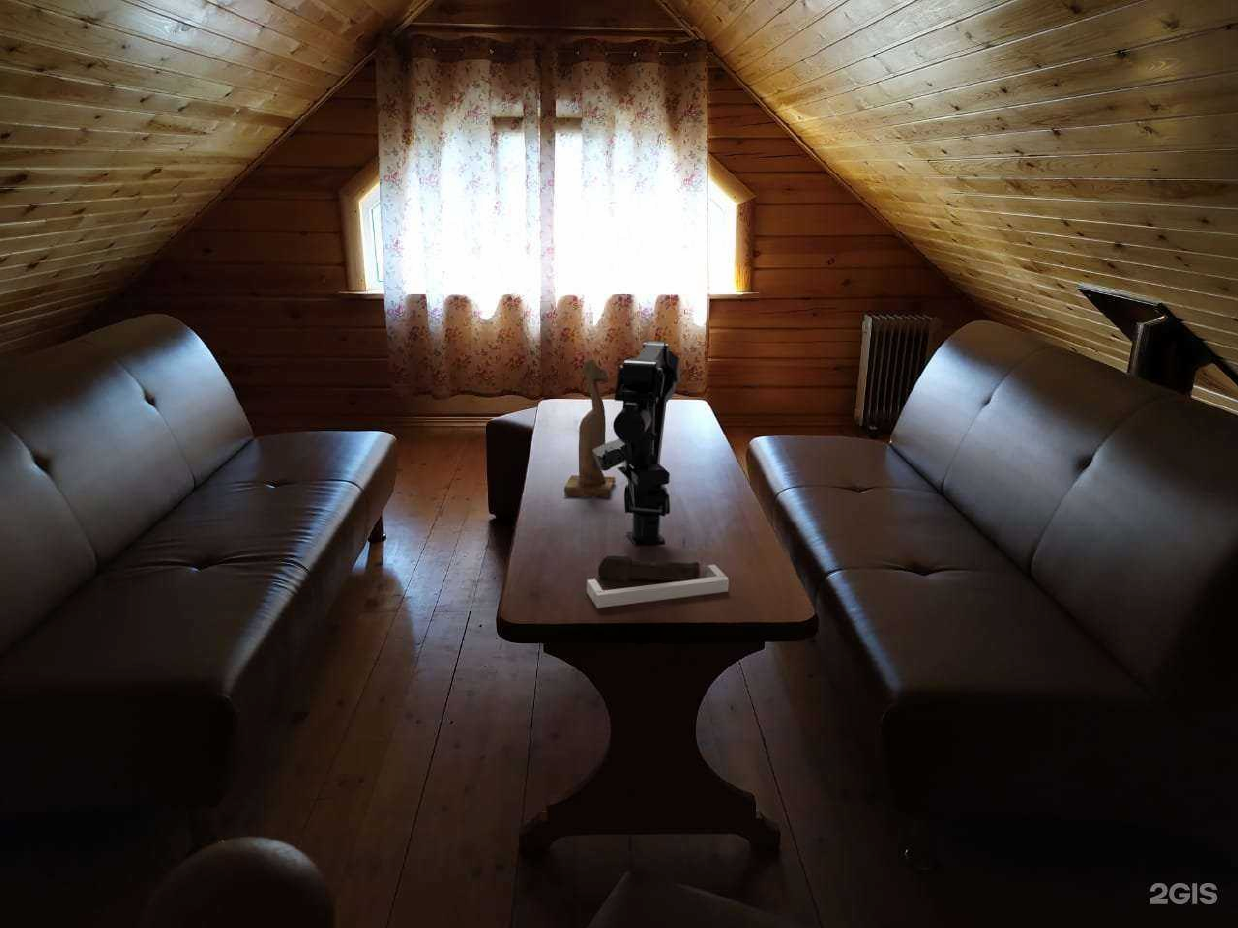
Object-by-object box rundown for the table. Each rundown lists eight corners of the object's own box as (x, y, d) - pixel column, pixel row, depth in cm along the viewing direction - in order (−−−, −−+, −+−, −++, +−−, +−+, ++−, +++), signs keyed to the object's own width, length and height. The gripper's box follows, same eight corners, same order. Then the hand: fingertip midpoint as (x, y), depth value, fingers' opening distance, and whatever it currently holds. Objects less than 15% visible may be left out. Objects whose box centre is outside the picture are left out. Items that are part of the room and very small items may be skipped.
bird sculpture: (613, 500, 207) (620, 366, 197) (563, 497, 207) (568, 363, 198) (615, 485, 218) (622, 357, 208) (568, 482, 218) (572, 354, 208)
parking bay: (587, 592, 160) (587, 579, 159) (713, 576, 167) (714, 564, 167) (597, 608, 154) (597, 595, 153) (728, 591, 162) (728, 578, 161)
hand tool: (699, 578, 167) (700, 555, 166) (699, 587, 163) (700, 564, 162) (600, 572, 169) (600, 550, 168) (597, 581, 165) (597, 558, 164)
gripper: (583, 417, 170) (583, 493, 175) (612, 444, 153) (610, 527, 158) (638, 414, 173) (636, 488, 178) (672, 440, 156) (669, 521, 161)
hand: (636, 505), depth 169 cm, fingers closed
